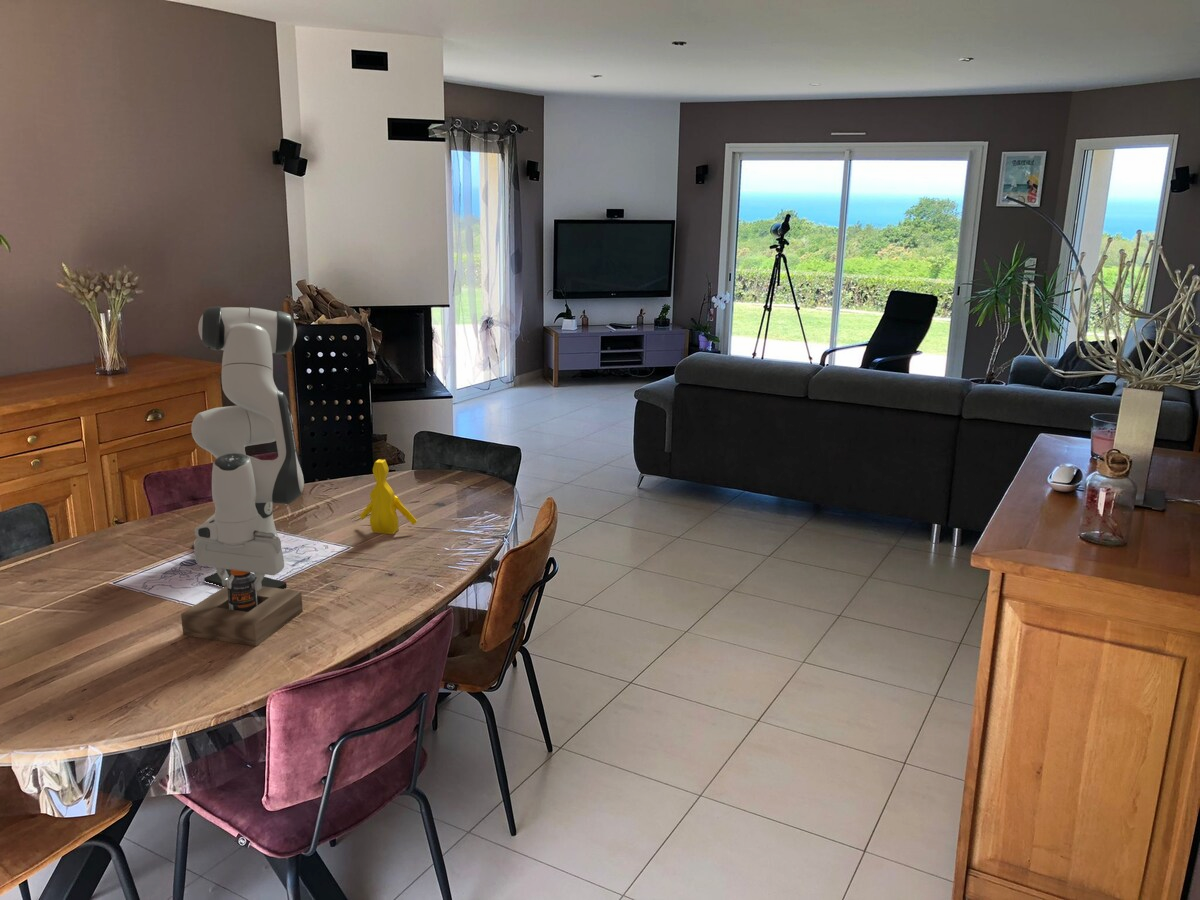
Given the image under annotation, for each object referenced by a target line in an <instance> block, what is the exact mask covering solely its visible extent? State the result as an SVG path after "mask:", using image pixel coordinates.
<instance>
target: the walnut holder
mask: <svg viewBox="0 0 1200 900" xmlns="http://www.w3.org/2000/svg"><path fill="white" fill-rule="evenodd" d="M302 595H303V594H302V591H300V590H299V591H298V590H292V589H287V588H285V589H279V588H272V587H264V586H262V588H261V589H260V590H259V591H257V605H258V606H256V607H255V608H253V609H252V610H250V611H249V612H245V611H238V610H231V609H229V600H228V588H227V586H225V587H224V588H222V587H221V589H219V590H217V591H216V592H214V593H213V594H210V595H209V596H208V597H206V598H204V599H203V600H201V601H200V602H198V603H196V604H195V605H193V606H192V607H190V608H188V609H187V610H185V611H183V612H181V613H180V616H181V617H180V619H181V626H182V627H181V629H182V635H183V636H186V635H188V636H187V637H192V636H193V637H194V638H195V637H196V638H200V639H206V640H213V641H219V642H227V643H234V644H241V645H245V646H246V645H247V646H252V647H257V646H259V645H261V644H262V643H263V642H265V641H266V640H267V639H268V638H269V637H271V636H272V635H273V634H275V633H277V631H279V630H280V629H281V628H283V627H284V626H285V625H287V624H288V623H289V622H291V621H293V619H295V618H296V617H297V616H299V615H301V614H302V612H303V598H302V597H303V596H302Z"/></svg>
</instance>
